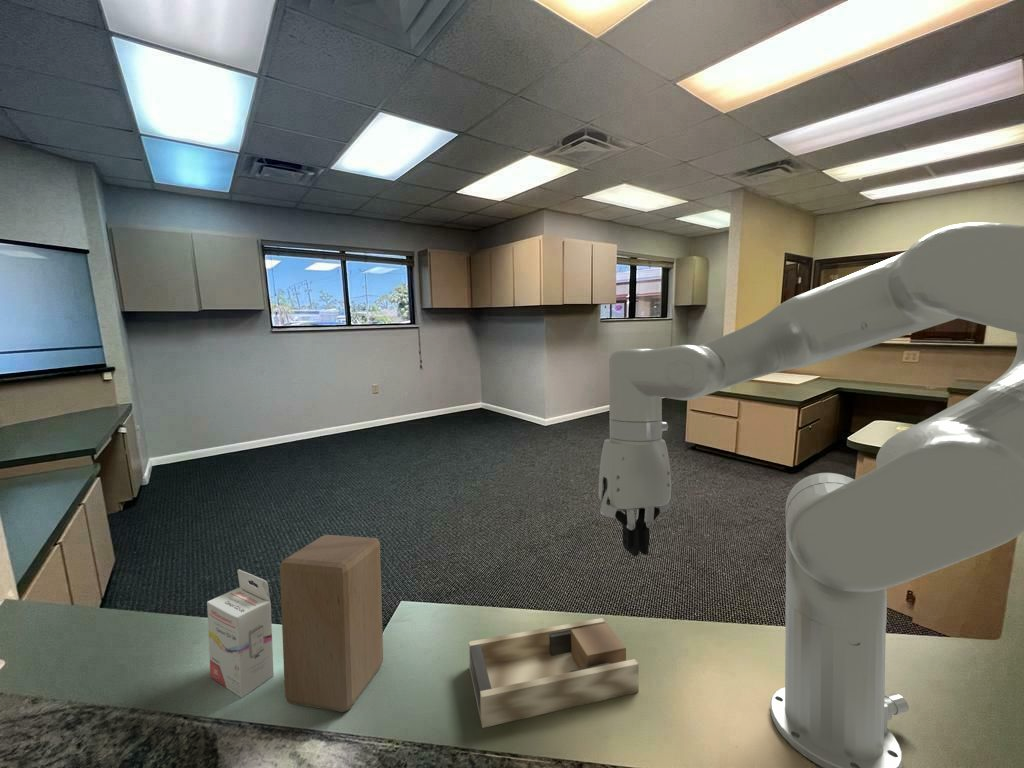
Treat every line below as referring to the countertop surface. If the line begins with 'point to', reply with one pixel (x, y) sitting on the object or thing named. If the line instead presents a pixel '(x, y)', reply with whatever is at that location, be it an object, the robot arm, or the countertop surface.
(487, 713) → the chute
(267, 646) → the ink cartridge box
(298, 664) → the block
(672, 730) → the countertop surface
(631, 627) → the countertop surface
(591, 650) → the block
